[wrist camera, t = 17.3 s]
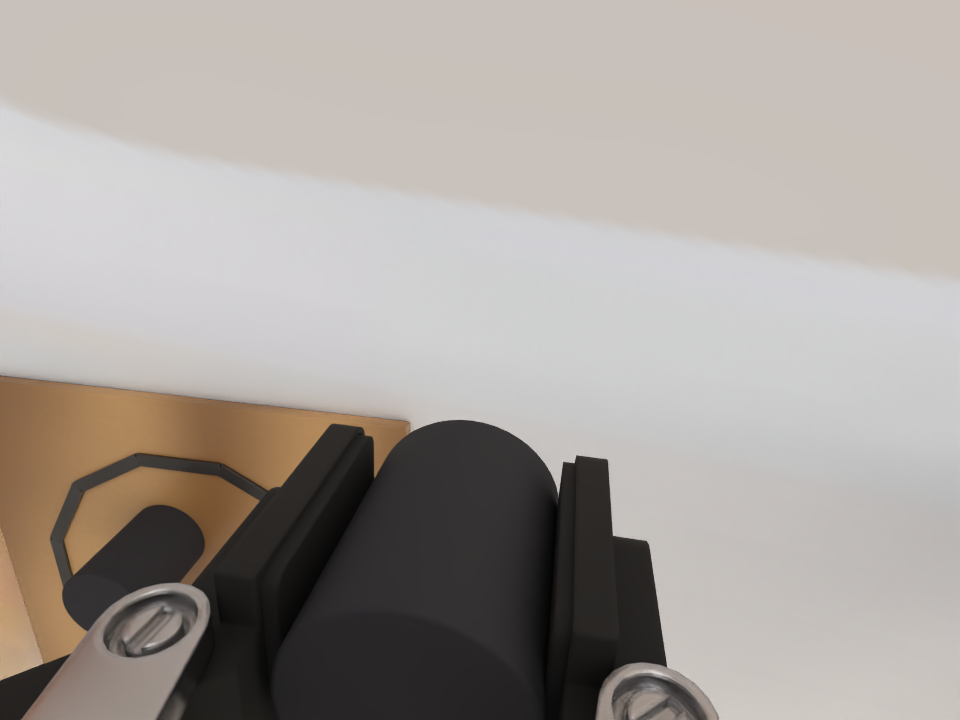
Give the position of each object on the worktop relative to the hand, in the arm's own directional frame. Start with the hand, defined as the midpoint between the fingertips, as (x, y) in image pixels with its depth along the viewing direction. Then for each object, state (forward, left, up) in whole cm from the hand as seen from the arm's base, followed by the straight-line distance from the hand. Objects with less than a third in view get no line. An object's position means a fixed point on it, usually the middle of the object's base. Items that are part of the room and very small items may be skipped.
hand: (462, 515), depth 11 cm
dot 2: (+15, +12, -12) cm, 23 cm away
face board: (+14, +15, -12) cm, 24 cm away
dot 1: (0, 0, -1) cm, 1 cm away
